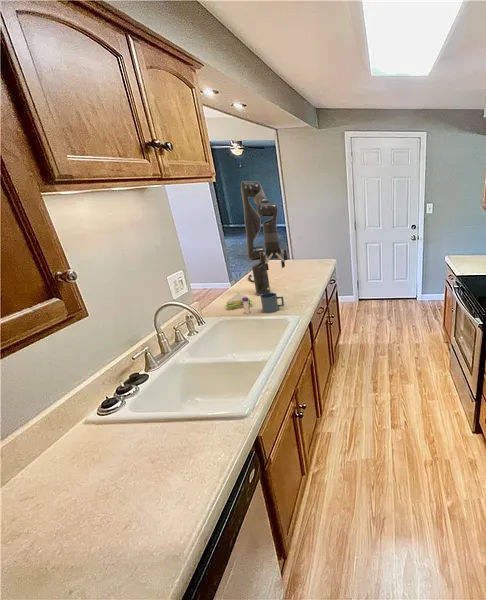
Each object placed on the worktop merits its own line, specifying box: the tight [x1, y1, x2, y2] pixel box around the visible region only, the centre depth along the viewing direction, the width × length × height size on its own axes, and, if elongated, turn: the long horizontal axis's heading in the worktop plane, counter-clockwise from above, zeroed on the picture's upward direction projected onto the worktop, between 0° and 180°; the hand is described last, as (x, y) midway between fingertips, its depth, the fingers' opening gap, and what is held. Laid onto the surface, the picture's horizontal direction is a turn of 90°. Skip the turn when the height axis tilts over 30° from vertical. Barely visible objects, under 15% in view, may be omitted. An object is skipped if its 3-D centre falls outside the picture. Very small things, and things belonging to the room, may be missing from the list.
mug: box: [259, 292, 285, 314], centre depth 198 cm, size 13×9×10 cm
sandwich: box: [224, 291, 253, 310], centre depth 208 cm, size 15×20×5 cm
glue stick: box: [242, 296, 251, 315], centre depth 194 cm, size 3×3×9 cm
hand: (275, 268), depth 187 cm, fingers open, 8 cm apart
